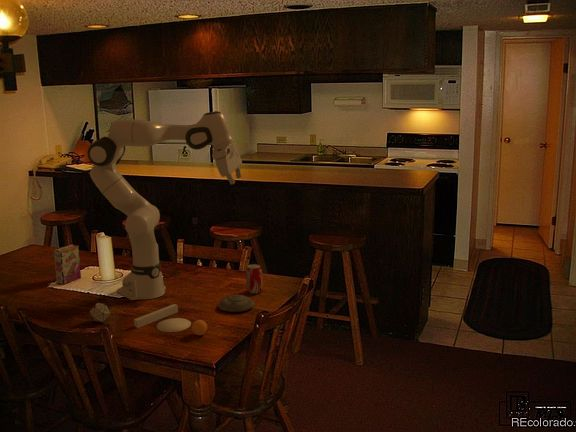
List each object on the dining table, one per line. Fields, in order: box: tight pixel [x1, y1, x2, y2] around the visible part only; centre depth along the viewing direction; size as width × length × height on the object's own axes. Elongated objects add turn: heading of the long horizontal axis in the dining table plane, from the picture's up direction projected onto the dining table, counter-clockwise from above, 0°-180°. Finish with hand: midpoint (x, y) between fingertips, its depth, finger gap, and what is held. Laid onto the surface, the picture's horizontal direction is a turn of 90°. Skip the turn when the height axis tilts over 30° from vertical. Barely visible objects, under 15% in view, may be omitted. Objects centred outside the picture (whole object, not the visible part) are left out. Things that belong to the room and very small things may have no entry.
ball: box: [191, 319, 208, 336], centre depth 216 cm, size 6×6×6 cm
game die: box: [87, 300, 114, 325], centre depth 229 cm, size 9×8×10 cm
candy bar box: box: [53, 244, 82, 286], centre depth 277 cm, size 11×5×16 cm, turn 154°
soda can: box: [245, 263, 263, 295], centre depth 259 cm, size 7×7×12 cm
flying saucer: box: [217, 294, 255, 313], centre depth 242 cm, size 15×15×6 cm
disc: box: [156, 317, 192, 333], centre depth 226 cm, size 13×13×1 cm
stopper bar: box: [133, 303, 179, 329], centre depth 231 cm, size 2×20×3 cm, turn 141°
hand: (236, 180), depth 245 cm, fingers open, 8 cm apart
